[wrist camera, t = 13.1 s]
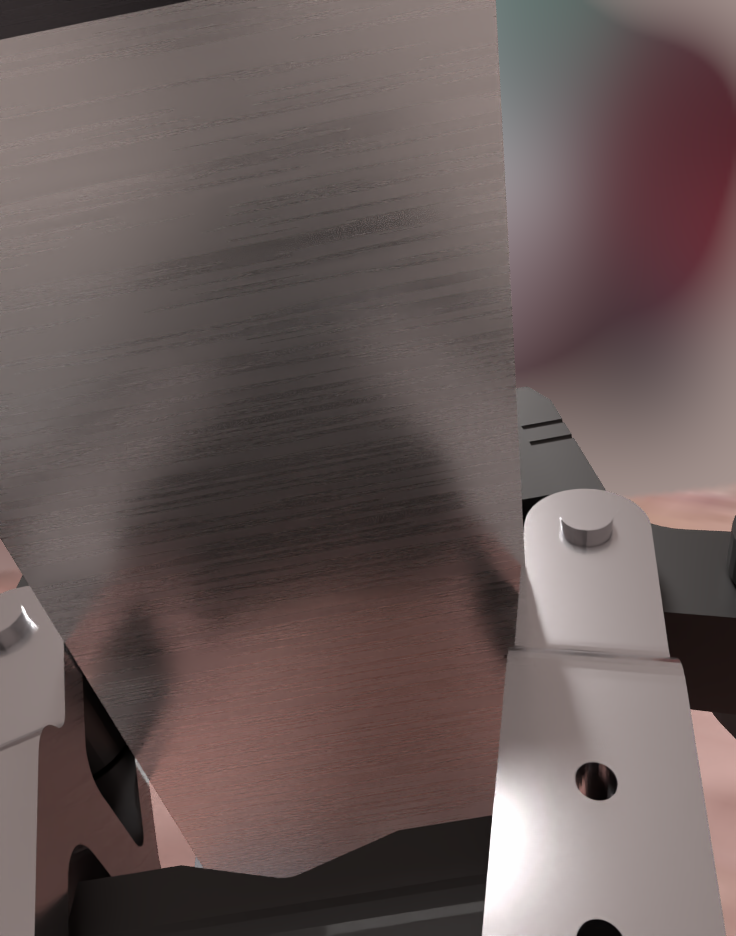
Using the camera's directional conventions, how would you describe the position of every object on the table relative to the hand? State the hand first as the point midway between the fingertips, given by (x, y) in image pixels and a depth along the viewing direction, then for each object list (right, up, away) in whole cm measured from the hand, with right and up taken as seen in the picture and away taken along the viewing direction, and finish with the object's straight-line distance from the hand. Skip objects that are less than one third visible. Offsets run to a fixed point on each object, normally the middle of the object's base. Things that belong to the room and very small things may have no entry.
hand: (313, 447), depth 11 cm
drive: (+1, -7, +4) cm, 8 cm away
